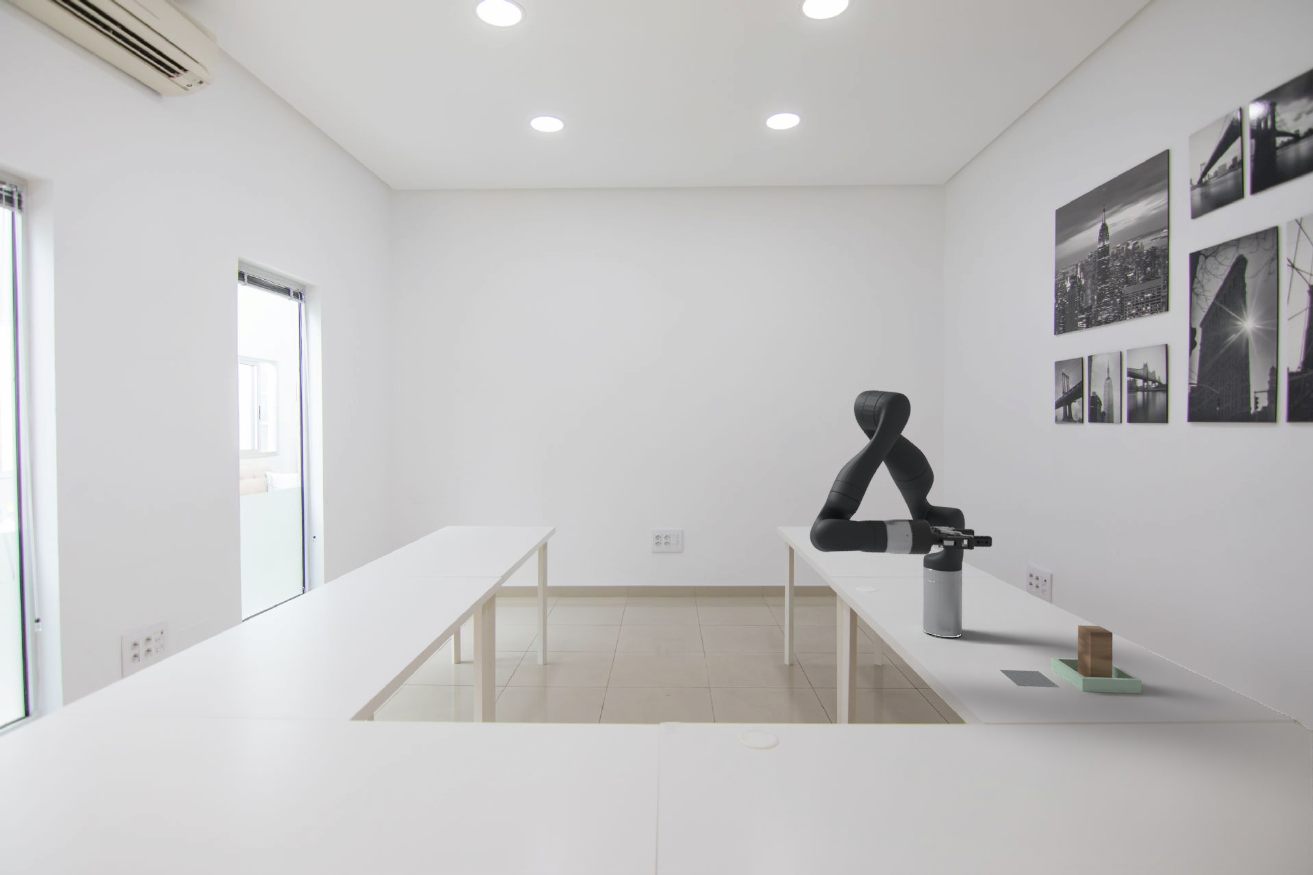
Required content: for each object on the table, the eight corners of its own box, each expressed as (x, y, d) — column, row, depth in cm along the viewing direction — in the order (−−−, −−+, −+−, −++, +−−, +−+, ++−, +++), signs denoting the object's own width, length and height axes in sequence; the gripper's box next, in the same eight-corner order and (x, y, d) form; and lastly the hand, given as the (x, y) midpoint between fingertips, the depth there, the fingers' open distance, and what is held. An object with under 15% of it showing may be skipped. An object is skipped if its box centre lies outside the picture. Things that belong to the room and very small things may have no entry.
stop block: (1077, 676, 126) (1078, 625, 126) (1098, 677, 126) (1099, 625, 126) (1090, 685, 122) (1090, 632, 122) (1112, 686, 122) (1112, 632, 122)
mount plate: (999, 674, 130) (999, 669, 130) (1038, 675, 129) (1038, 670, 129) (1018, 690, 122) (1018, 685, 122) (1059, 691, 121) (1059, 686, 121)
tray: (1051, 673, 130) (1051, 657, 130) (1104, 675, 129) (1105, 659, 129) (1082, 695, 119) (1082, 678, 119) (1141, 697, 118) (1141, 680, 118)
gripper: (915, 524, 123) (998, 525, 122) (894, 514, 137) (968, 515, 136) (915, 560, 123) (997, 562, 122) (894, 547, 137) (968, 548, 136)
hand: (982, 537), depth 129 cm, fingers open, 8 cm apart
